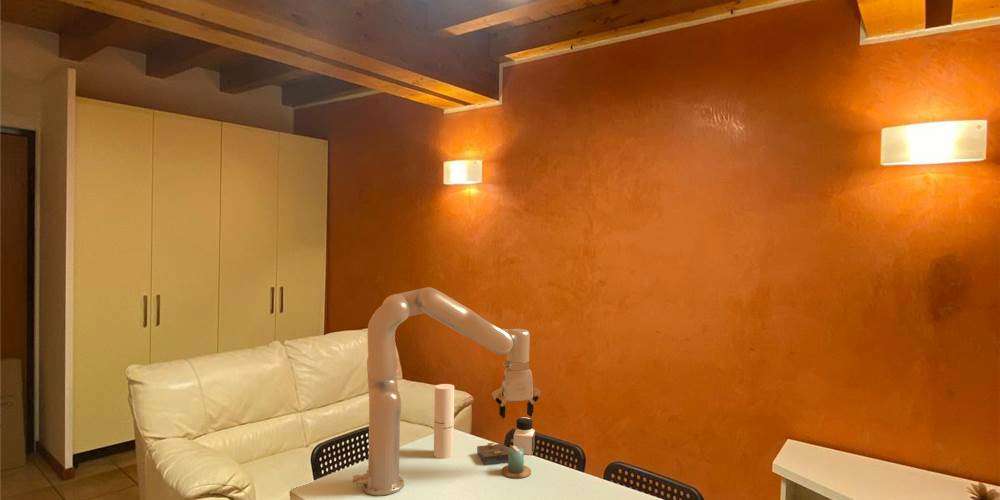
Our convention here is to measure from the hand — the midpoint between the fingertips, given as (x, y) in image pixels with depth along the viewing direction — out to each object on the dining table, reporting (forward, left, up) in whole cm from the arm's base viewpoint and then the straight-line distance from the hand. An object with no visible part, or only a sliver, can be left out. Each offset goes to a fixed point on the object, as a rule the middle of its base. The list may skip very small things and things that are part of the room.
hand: (516, 416), depth 170 cm
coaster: (0, 0, -19) cm, 19 cm away
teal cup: (0, 0, -18) cm, 18 cm away
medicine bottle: (+9, +17, -19) cm, 27 cm away
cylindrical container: (-21, +21, -19) cm, 35 cm away
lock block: (-4, +13, -19) cm, 23 cm away
